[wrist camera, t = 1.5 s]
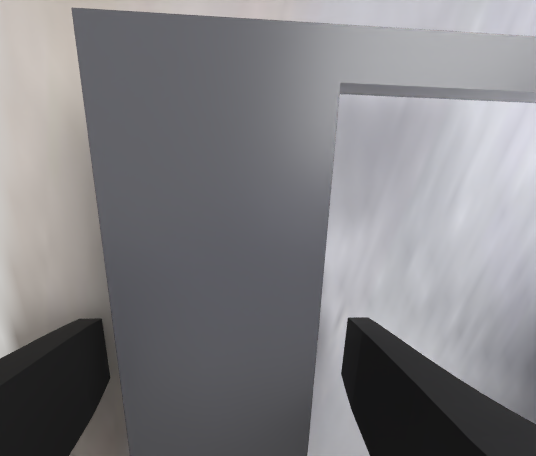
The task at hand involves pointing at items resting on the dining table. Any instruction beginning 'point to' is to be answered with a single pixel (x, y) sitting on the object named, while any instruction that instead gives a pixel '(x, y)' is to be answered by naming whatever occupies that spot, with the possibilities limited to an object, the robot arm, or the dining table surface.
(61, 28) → the dining table surface
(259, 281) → the grey notched block
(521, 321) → the dining table surface
